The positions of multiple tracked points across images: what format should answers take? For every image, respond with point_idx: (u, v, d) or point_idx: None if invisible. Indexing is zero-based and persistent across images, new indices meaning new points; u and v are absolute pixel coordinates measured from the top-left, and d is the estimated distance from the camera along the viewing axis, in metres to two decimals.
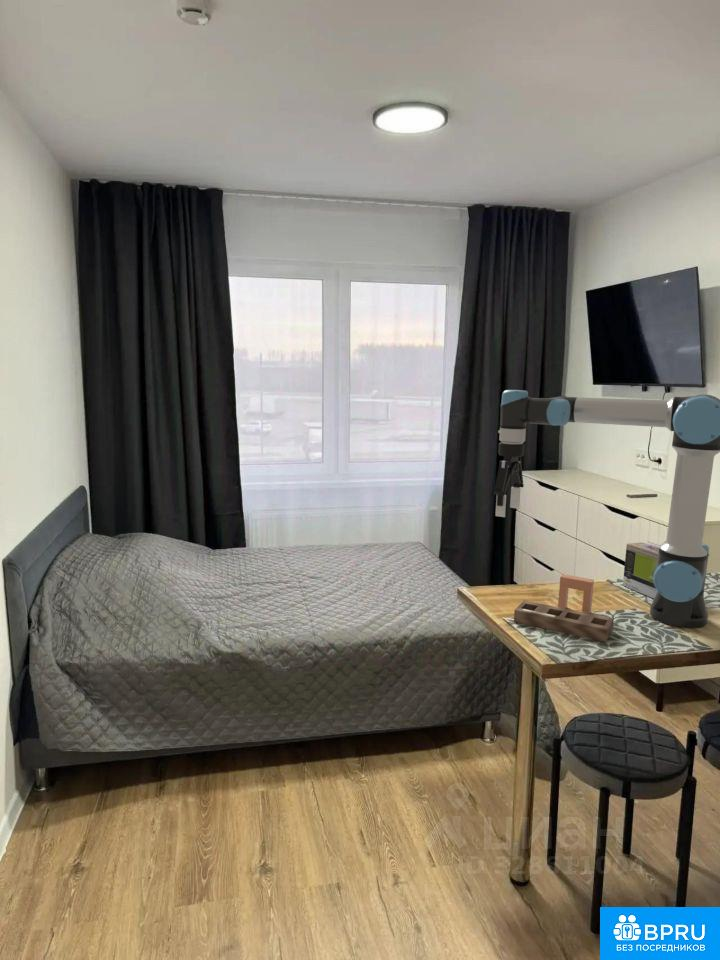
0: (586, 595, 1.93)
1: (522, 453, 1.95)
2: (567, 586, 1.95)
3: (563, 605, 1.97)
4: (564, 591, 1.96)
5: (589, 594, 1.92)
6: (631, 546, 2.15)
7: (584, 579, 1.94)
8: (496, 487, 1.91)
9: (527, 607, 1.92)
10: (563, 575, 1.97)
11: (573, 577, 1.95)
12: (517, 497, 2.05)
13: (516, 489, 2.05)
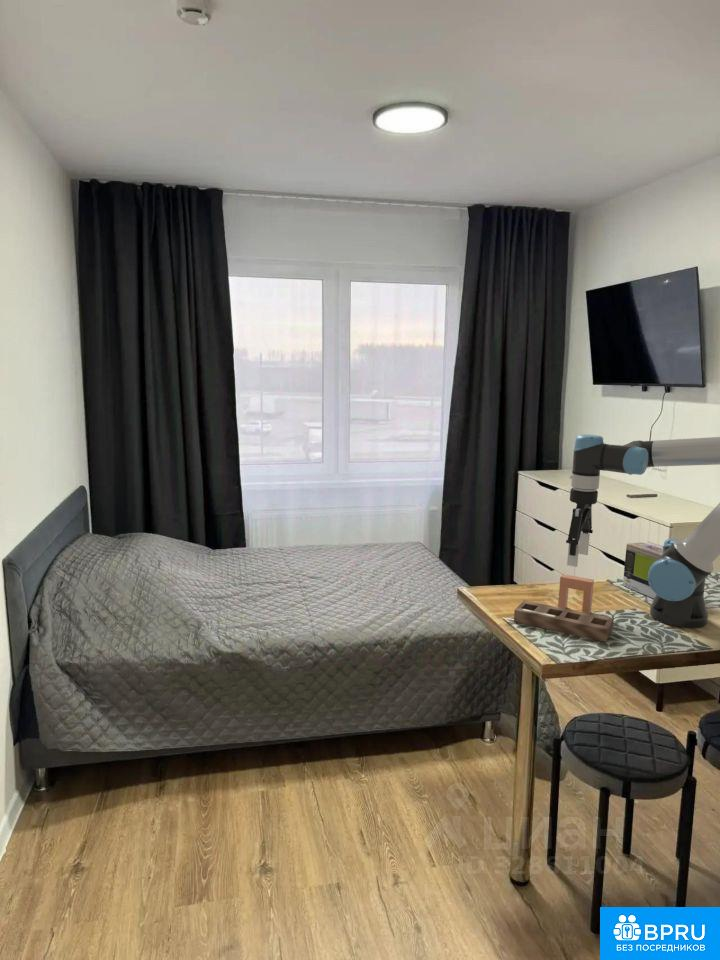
0: (586, 595, 1.93)
1: (595, 500, 1.88)
2: (567, 586, 1.95)
3: (563, 605, 1.97)
4: (564, 591, 1.96)
5: (589, 594, 1.92)
6: (631, 546, 2.15)
7: (584, 579, 1.94)
8: (570, 536, 1.84)
9: (527, 607, 1.92)
10: (563, 575, 1.97)
11: (573, 577, 1.95)
12: (586, 543, 1.98)
13: (585, 535, 1.98)
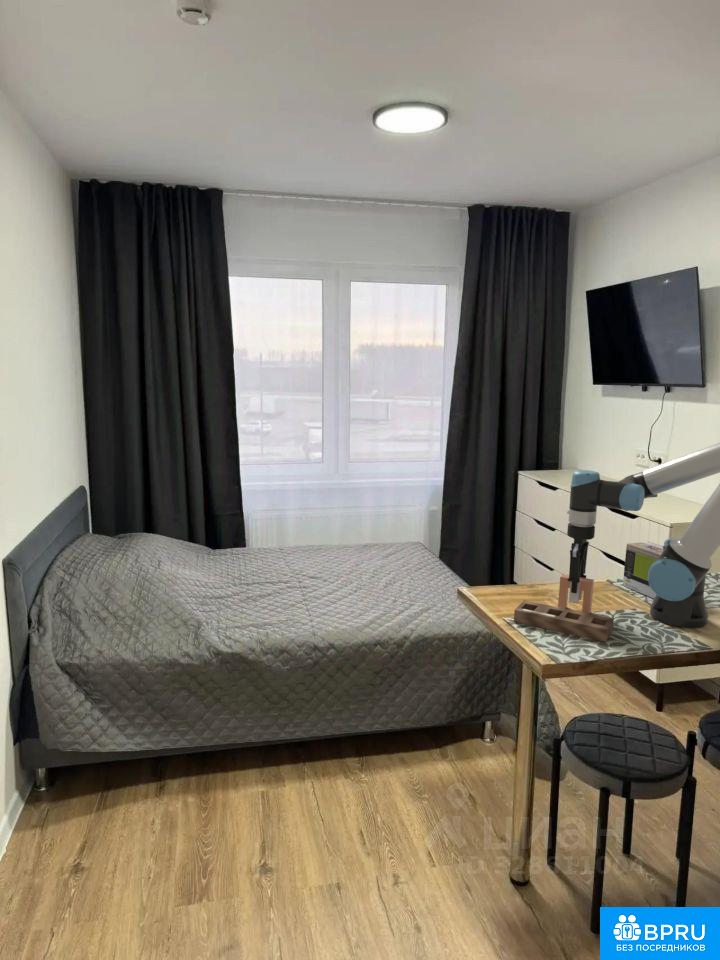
0: (586, 595, 1.93)
1: (593, 536, 1.90)
2: (567, 586, 1.95)
3: (563, 605, 1.97)
4: (564, 591, 1.96)
5: (589, 594, 1.92)
6: (631, 546, 2.15)
7: (584, 579, 1.94)
8: (570, 576, 1.90)
9: (527, 607, 1.92)
10: (563, 575, 1.97)
11: None
12: None
13: None
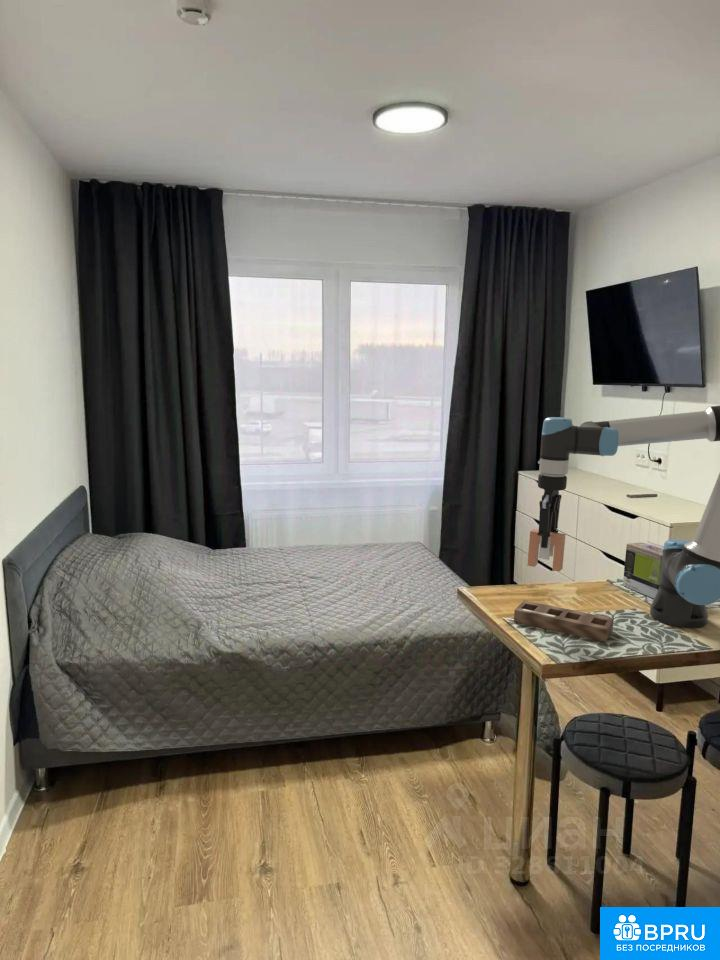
0: (557, 550, 1.81)
1: (564, 486, 1.79)
2: (537, 541, 1.84)
3: (533, 561, 1.85)
4: (534, 546, 1.85)
5: (560, 549, 1.81)
6: (631, 546, 2.15)
7: (555, 533, 1.83)
8: (540, 529, 1.79)
9: (527, 607, 1.92)
10: (533, 530, 1.86)
11: None
12: None
13: None
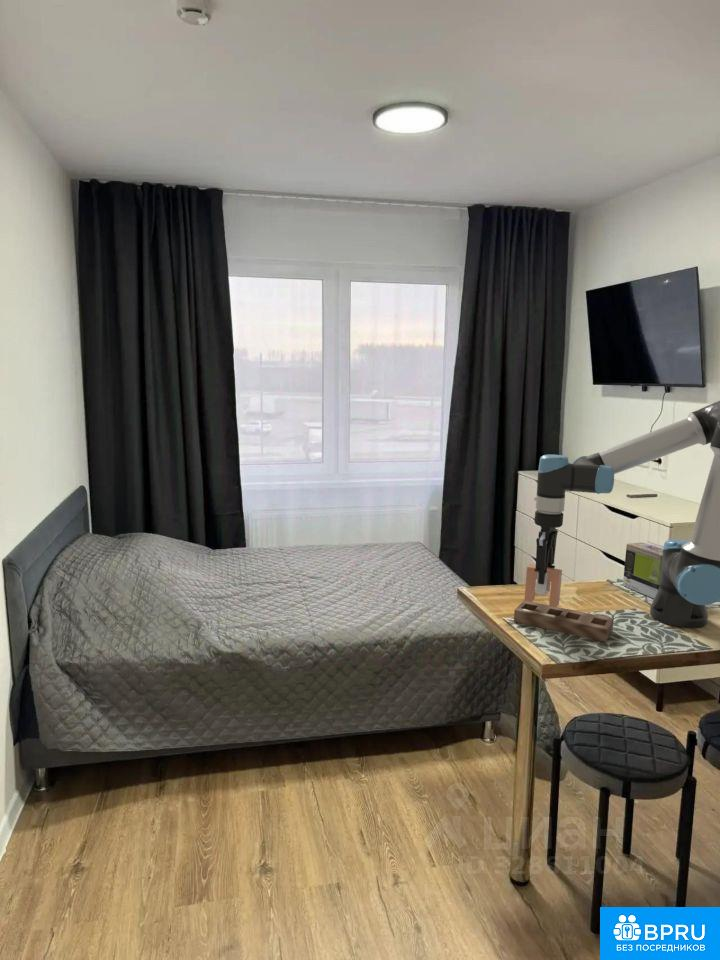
0: (553, 586, 1.83)
1: (561, 523, 1.80)
2: (534, 577, 1.85)
3: (530, 597, 1.87)
4: (531, 582, 1.86)
5: (556, 585, 1.82)
6: (631, 546, 2.15)
7: (552, 569, 1.84)
8: (537, 566, 1.80)
9: (527, 607, 1.92)
10: (530, 565, 1.87)
11: None
12: None
13: None
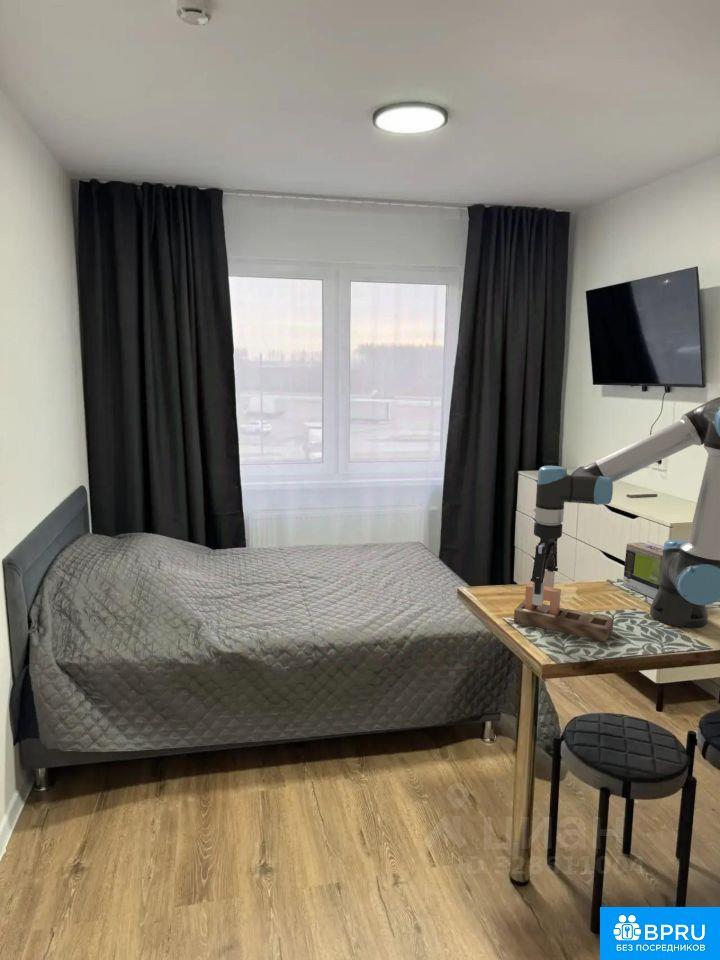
0: (552, 606, 1.84)
1: (560, 534, 1.81)
2: None
3: None
4: (530, 601, 1.87)
5: (556, 604, 1.83)
6: (631, 546, 2.15)
7: (551, 589, 1.85)
8: (533, 575, 1.78)
9: None
10: (529, 584, 1.88)
11: None
12: (551, 582, 1.90)
13: (550, 573, 1.90)
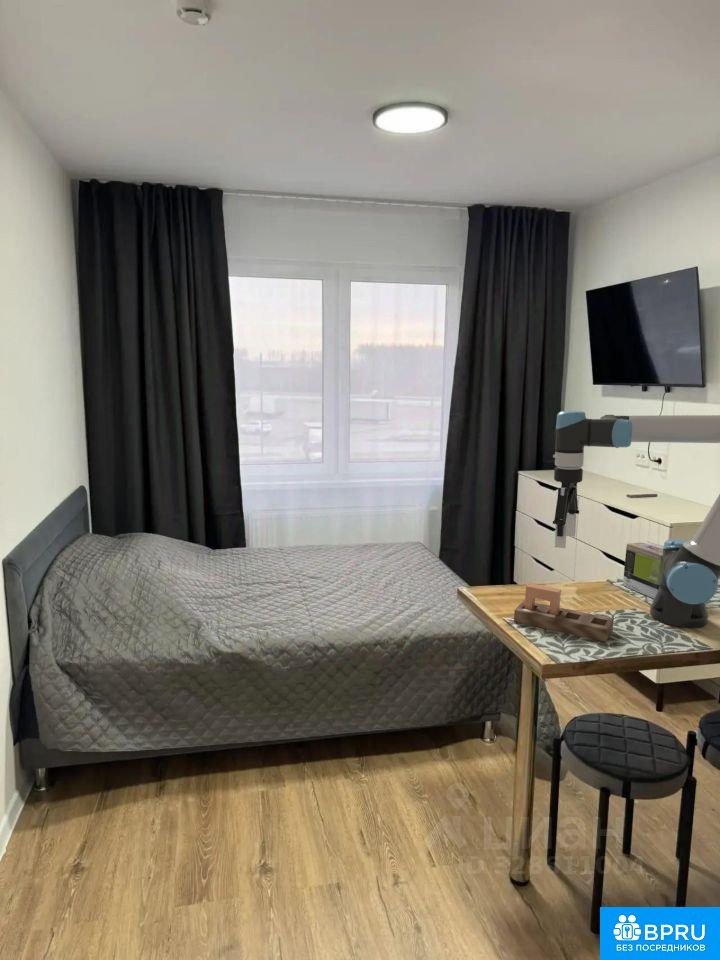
0: (552, 606, 1.84)
1: (581, 478, 1.81)
2: (533, 596, 1.86)
3: None
4: (530, 601, 1.87)
5: (556, 604, 1.83)
6: (631, 546, 2.15)
7: (551, 589, 1.85)
8: (556, 517, 1.77)
9: None
10: (529, 584, 1.88)
11: (539, 587, 1.86)
12: (573, 524, 1.91)
13: (572, 516, 1.91)
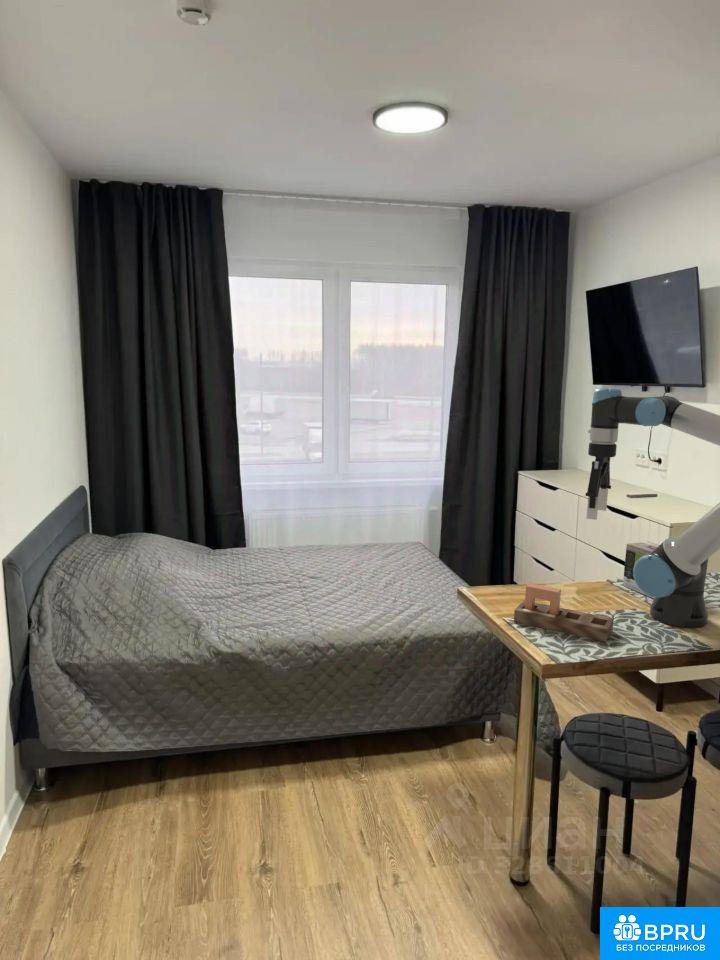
0: (552, 606, 1.84)
1: (614, 453, 1.88)
2: (533, 596, 1.86)
3: None
4: (530, 601, 1.87)
5: (556, 604, 1.83)
6: (631, 546, 2.15)
7: (551, 589, 1.85)
8: (589, 489, 1.85)
9: None
10: (529, 584, 1.88)
11: (539, 587, 1.86)
12: (604, 499, 1.99)
13: (603, 491, 1.98)
